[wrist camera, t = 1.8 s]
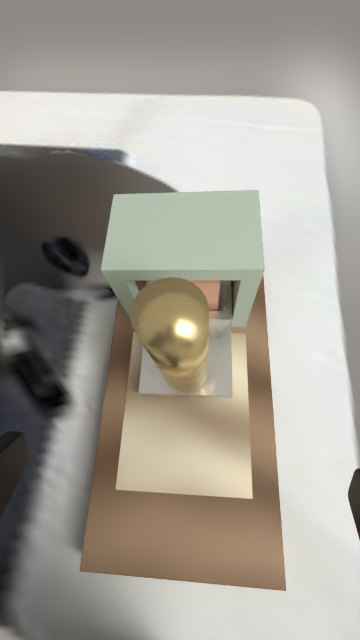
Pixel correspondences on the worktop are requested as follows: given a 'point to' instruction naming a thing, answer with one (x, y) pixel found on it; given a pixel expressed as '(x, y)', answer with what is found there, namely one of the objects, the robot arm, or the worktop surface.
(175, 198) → the tunnel
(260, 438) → the track board
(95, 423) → the worktop surface
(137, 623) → the worktop surface
